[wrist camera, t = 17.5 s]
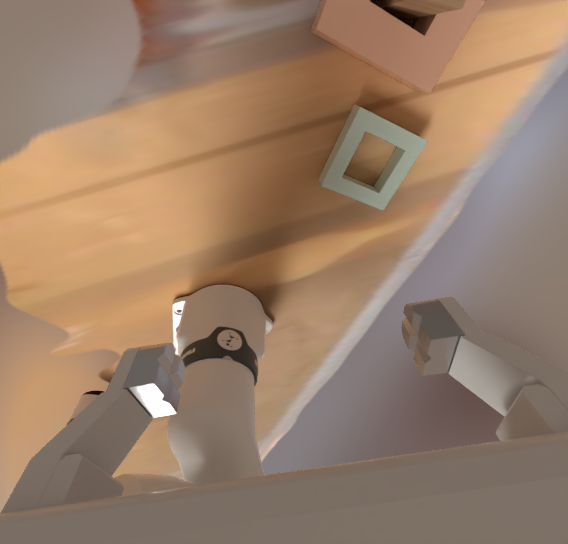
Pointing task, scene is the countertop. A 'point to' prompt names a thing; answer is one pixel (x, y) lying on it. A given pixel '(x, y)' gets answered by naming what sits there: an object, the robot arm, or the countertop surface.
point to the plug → (419, 7)
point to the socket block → (395, 38)
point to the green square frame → (393, 171)
